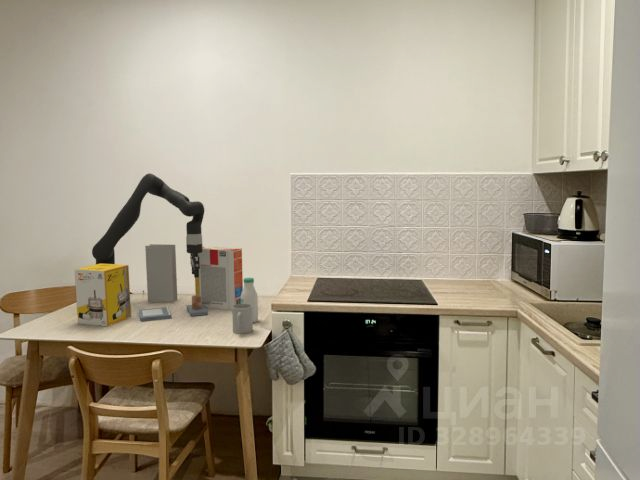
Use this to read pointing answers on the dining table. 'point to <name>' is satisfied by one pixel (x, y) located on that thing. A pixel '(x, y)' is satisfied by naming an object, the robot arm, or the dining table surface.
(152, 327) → the dining table surface
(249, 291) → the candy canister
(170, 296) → the plain grey carton
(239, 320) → the mug
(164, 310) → the blue-grey display panel
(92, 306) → the packaging box
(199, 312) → the blue-grey two-tone fixture
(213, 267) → the pasta box
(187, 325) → the dining table surface
